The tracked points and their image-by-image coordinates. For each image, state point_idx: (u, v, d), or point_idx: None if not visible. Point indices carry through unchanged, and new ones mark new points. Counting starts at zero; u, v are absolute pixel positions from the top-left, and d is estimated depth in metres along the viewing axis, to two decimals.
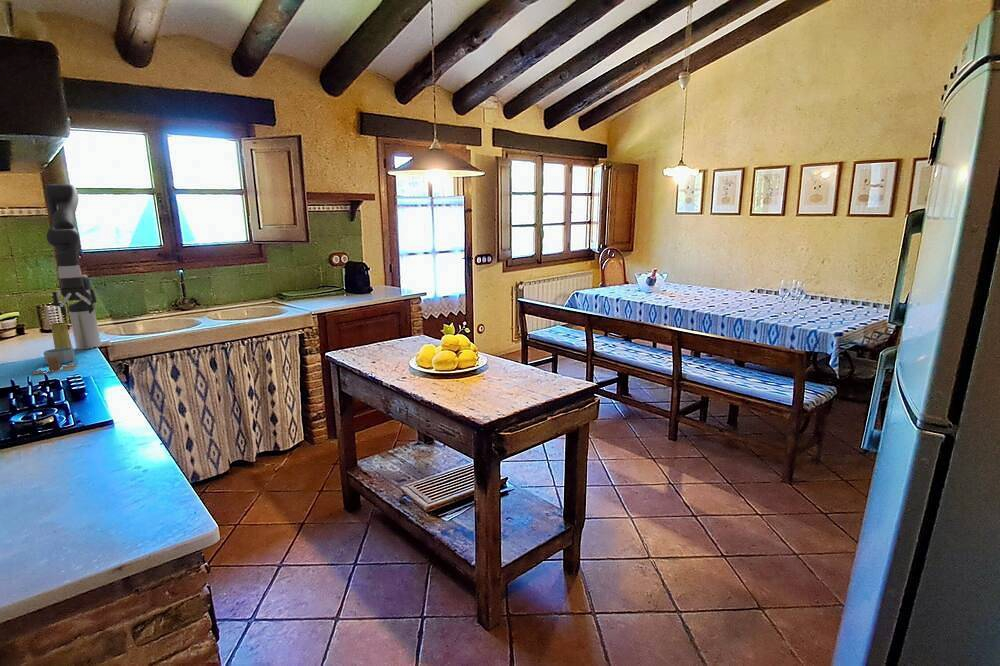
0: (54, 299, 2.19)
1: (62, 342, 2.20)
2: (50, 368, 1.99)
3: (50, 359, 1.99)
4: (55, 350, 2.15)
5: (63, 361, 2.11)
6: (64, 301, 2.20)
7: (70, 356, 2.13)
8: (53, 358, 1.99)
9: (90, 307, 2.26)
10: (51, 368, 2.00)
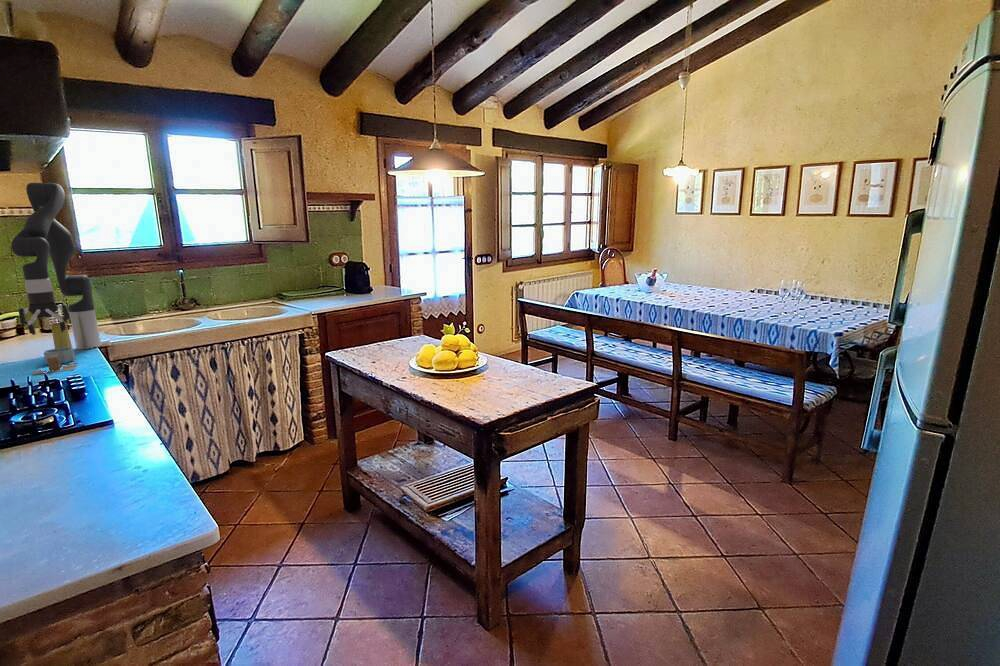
0: (21, 316, 1.94)
1: (62, 342, 2.20)
2: (50, 368, 1.99)
3: (50, 359, 1.99)
4: (55, 350, 2.15)
5: (63, 361, 2.11)
6: (32, 319, 1.95)
7: (70, 356, 2.13)
8: (53, 358, 1.99)
9: (62, 325, 2.01)
10: (51, 368, 2.00)
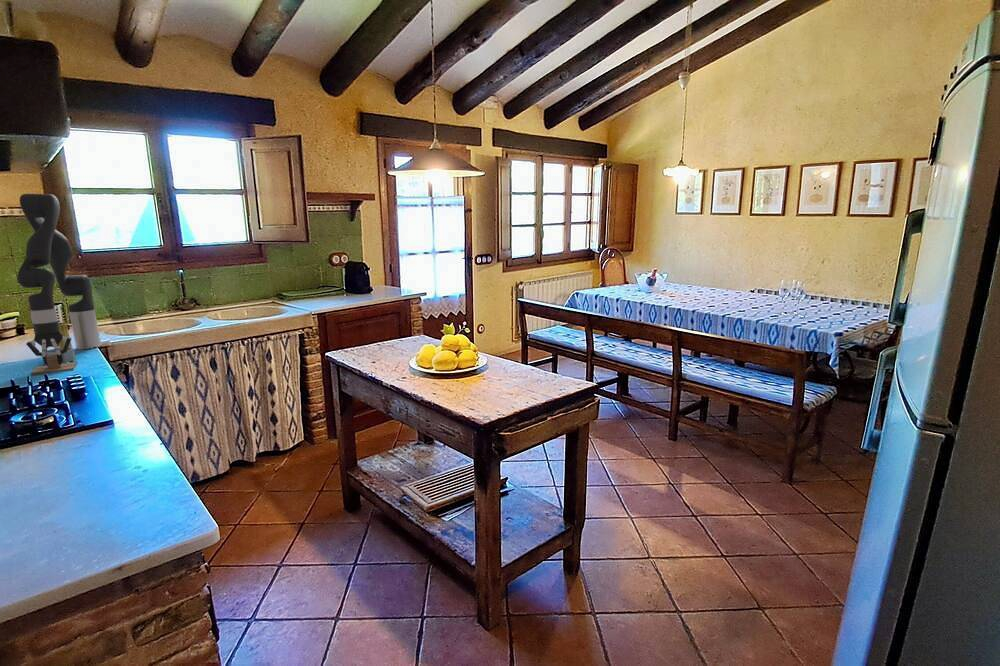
0: (32, 350, 1.97)
1: (62, 342, 2.20)
2: (49, 367, 1.99)
3: (49, 358, 1.99)
4: (55, 350, 2.15)
5: (63, 361, 2.11)
6: (43, 350, 1.98)
7: (70, 356, 2.13)
8: (52, 357, 1.99)
9: (60, 357, 2.02)
10: (50, 367, 1.99)
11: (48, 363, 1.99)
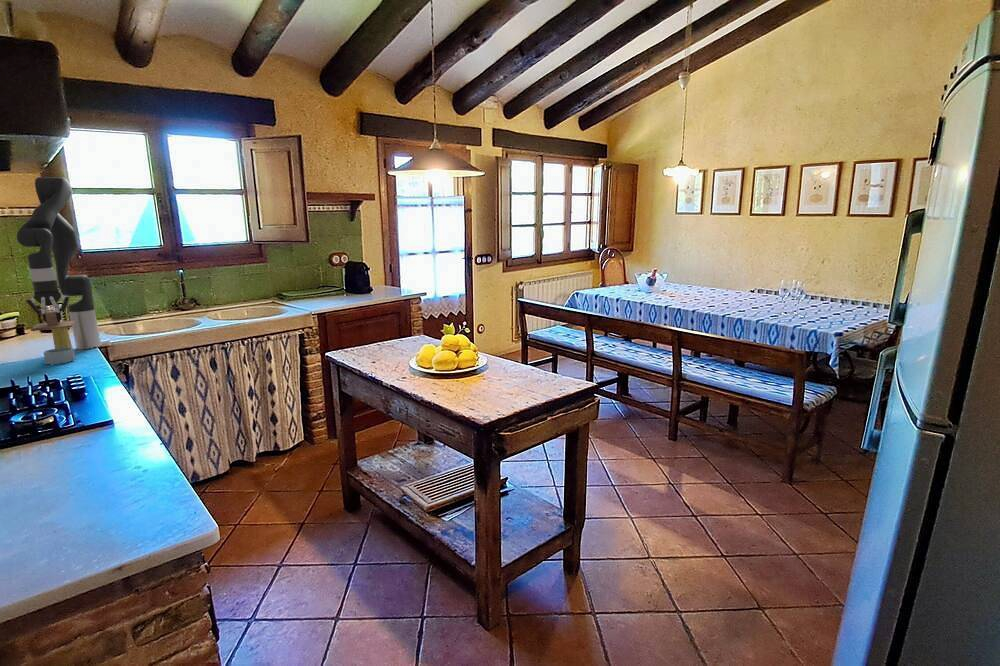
0: (32, 307, 2.05)
1: (62, 342, 2.20)
2: (48, 323, 2.07)
3: (48, 315, 2.07)
4: (55, 350, 2.15)
5: (63, 361, 2.11)
6: (43, 307, 2.07)
7: (70, 356, 2.13)
8: (51, 314, 2.07)
9: (58, 315, 2.10)
10: (49, 324, 2.08)
11: (47, 320, 2.07)
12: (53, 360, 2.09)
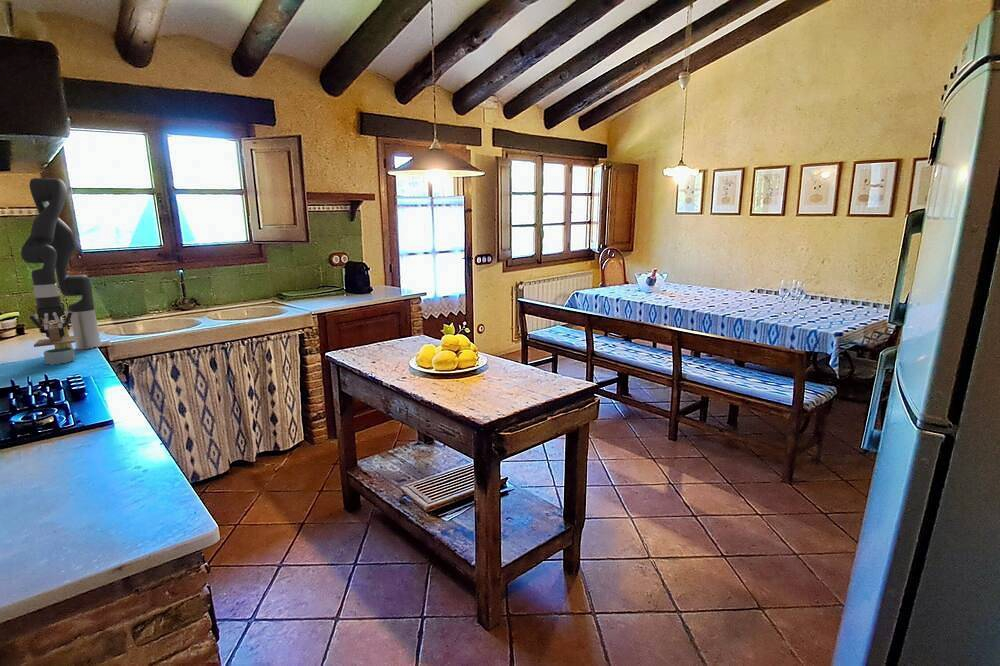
0: (35, 323, 2.06)
1: None
2: (51, 339, 2.09)
3: (51, 331, 2.08)
4: (55, 350, 2.15)
5: (63, 361, 2.11)
6: (46, 323, 2.08)
7: (70, 356, 2.13)
8: (54, 330, 2.09)
9: (61, 331, 2.12)
10: (52, 339, 2.09)
11: (50, 336, 2.08)
12: (53, 360, 2.09)
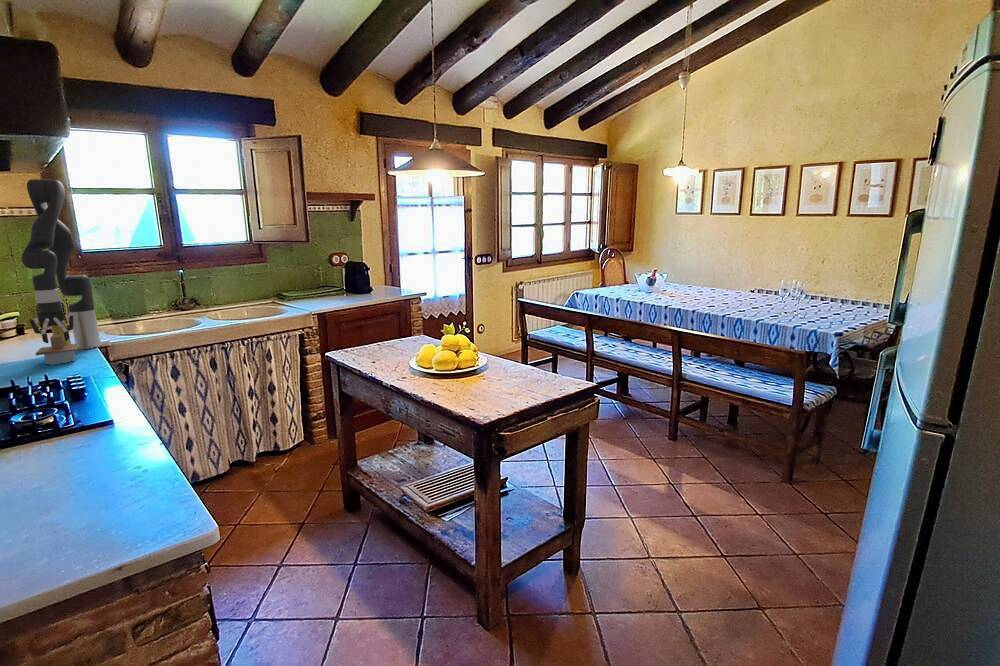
0: (33, 327, 2.06)
1: None
2: (53, 347, 2.09)
3: (53, 339, 2.09)
4: None
5: (63, 361, 2.11)
6: (44, 328, 2.08)
7: (70, 356, 2.13)
8: (56, 338, 2.09)
9: (66, 334, 2.13)
10: (54, 347, 2.10)
11: (52, 344, 2.09)
12: (53, 360, 2.09)
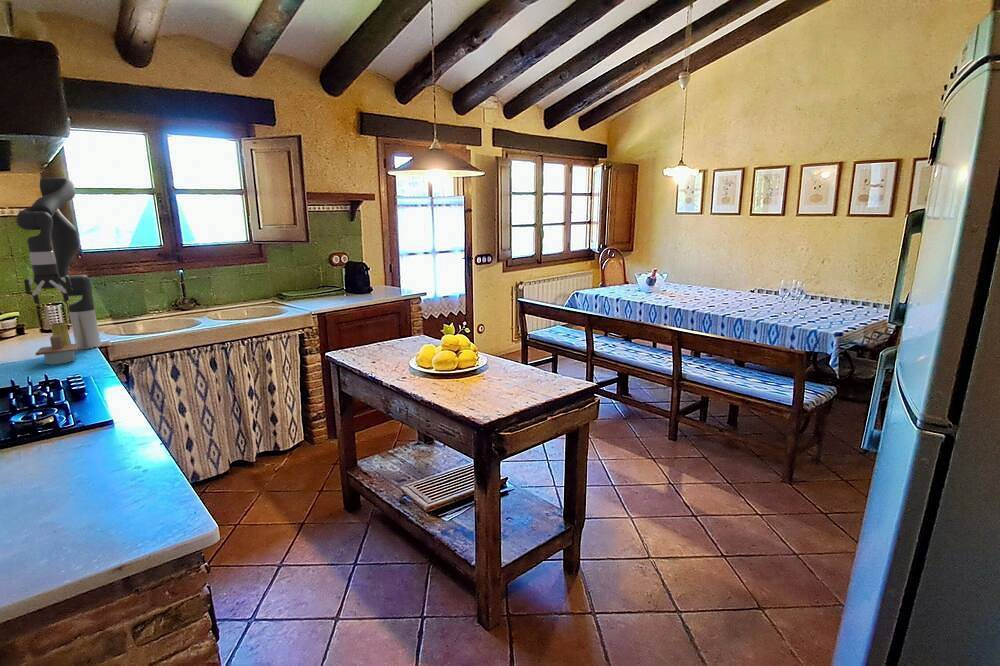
0: (26, 287, 2.04)
1: None
2: (53, 347, 2.09)
3: (53, 339, 2.09)
4: None
5: (63, 361, 2.11)
6: (37, 289, 2.06)
7: (70, 356, 2.13)
8: (56, 338, 2.09)
9: (65, 296, 2.11)
10: (54, 347, 2.10)
11: (52, 344, 2.09)
12: (53, 360, 2.09)
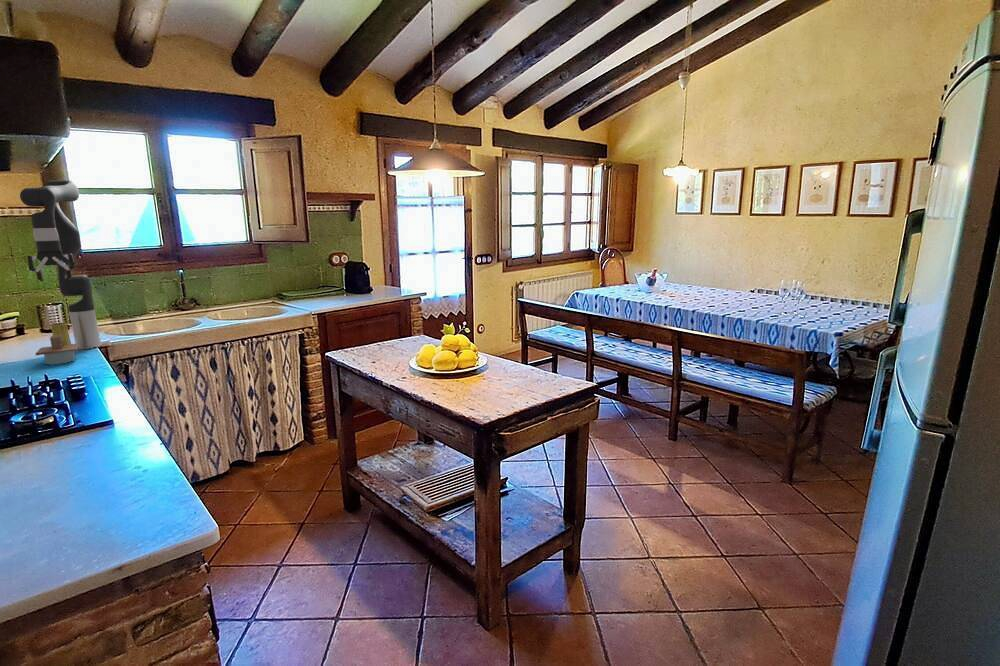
0: (29, 263, 2.05)
1: None
2: (53, 347, 2.09)
3: (53, 339, 2.09)
4: None
5: (63, 361, 2.11)
6: (40, 266, 2.07)
7: (70, 356, 2.13)
8: (56, 338, 2.09)
9: (68, 273, 2.12)
10: (54, 347, 2.10)
11: (52, 344, 2.09)
12: (53, 360, 2.09)
